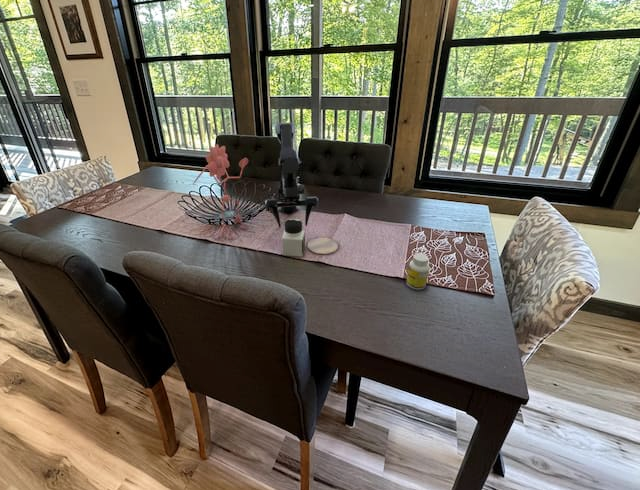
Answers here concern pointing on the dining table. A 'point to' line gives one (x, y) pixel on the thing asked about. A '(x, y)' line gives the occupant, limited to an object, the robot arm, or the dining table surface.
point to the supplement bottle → (418, 272)
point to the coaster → (322, 246)
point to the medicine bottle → (293, 238)
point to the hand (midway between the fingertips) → (293, 226)
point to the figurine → (217, 168)
